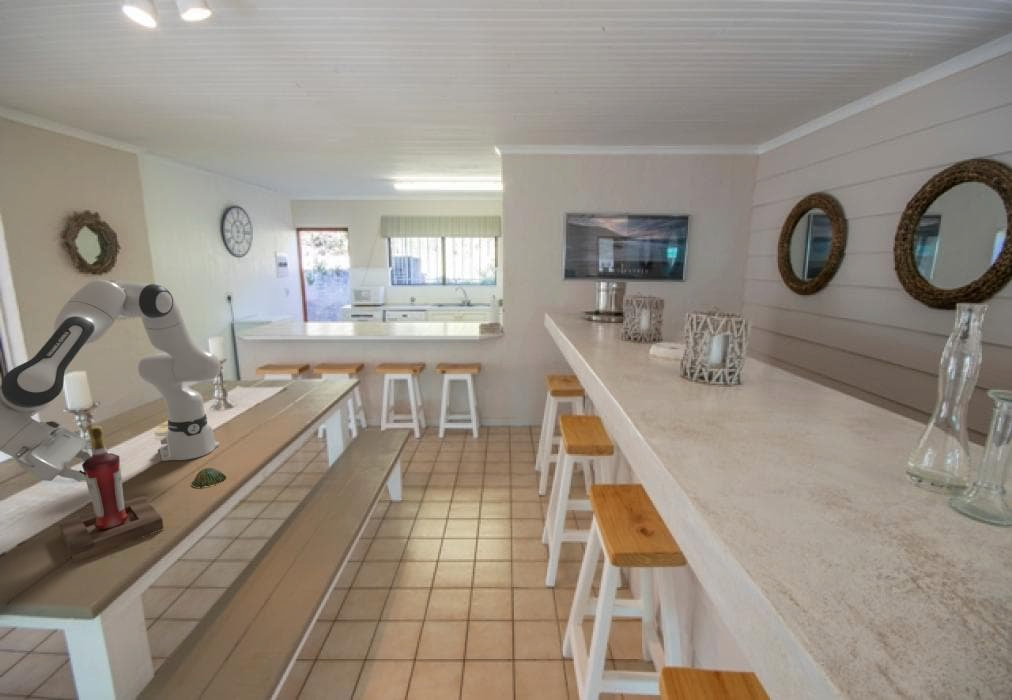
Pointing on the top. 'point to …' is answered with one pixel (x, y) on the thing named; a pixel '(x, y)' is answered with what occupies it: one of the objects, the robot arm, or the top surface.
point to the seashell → (208, 477)
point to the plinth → (94, 541)
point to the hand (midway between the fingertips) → (89, 470)
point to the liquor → (104, 483)
